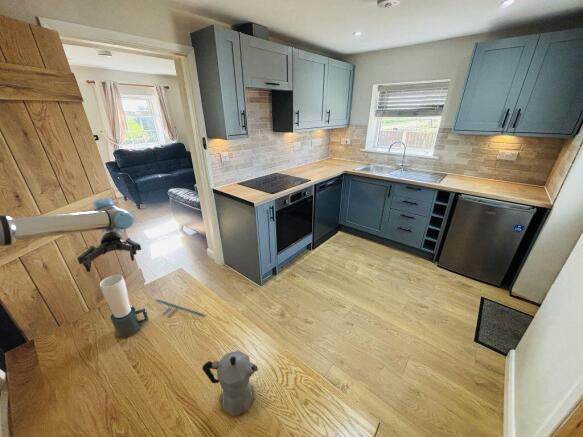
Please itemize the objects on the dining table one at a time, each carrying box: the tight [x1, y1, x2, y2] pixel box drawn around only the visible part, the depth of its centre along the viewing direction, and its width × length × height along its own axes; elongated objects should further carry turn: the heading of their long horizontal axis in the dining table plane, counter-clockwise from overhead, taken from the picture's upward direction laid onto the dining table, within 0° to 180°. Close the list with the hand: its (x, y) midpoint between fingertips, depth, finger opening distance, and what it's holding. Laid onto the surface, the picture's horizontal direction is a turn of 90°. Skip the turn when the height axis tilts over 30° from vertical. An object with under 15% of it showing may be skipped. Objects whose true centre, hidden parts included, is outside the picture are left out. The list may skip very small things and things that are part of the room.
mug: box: [110, 305, 149, 339], centre depth 90 cm, size 11×8×9 cm
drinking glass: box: [99, 274, 131, 318], centre depth 85 cm, size 7×7×15 cm
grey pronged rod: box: [156, 299, 204, 318], centre depth 99 cm, size 1×25×5 cm
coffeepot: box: [202, 350, 259, 417], centre depth 67 cm, size 15×9×18 cm, turn 86°
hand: (110, 263), depth 88 cm, fingers open, 13 cm apart
